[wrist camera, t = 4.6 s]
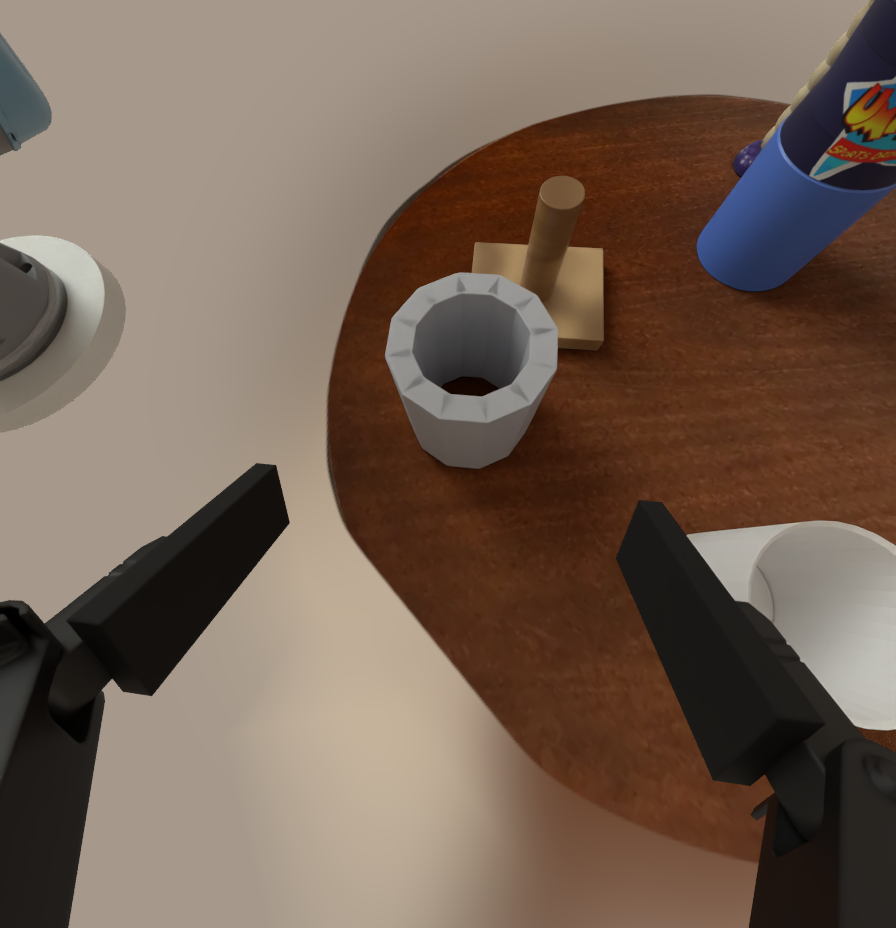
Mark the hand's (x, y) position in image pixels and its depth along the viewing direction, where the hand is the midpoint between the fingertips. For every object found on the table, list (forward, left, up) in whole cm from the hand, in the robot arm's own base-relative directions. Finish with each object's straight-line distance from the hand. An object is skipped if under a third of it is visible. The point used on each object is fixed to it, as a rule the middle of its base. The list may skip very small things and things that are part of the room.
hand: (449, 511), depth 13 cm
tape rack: (+5, +23, -15) cm, 27 cm away
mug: (+20, -3, -15) cm, 25 cm away
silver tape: (0, +11, -15) cm, 18 cm away
